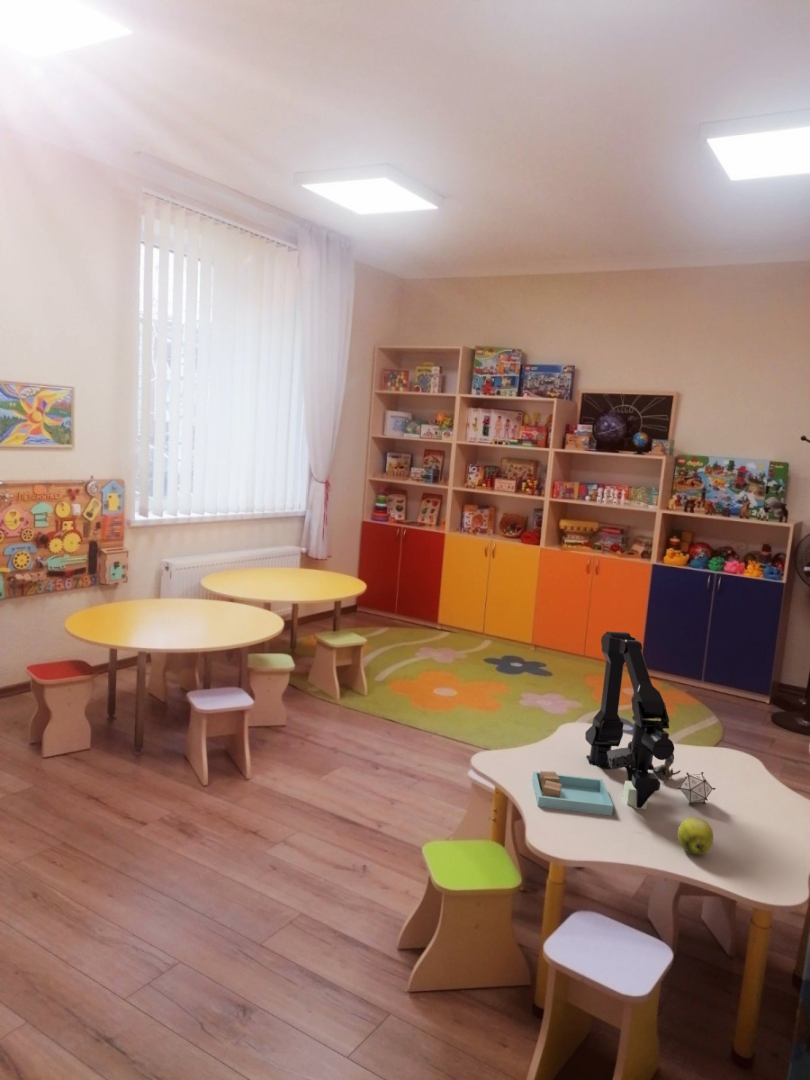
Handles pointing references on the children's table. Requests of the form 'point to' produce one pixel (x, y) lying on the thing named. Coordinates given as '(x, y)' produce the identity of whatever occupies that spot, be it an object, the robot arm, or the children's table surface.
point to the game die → (696, 788)
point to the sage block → (631, 795)
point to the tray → (576, 795)
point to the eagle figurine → (666, 768)
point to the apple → (695, 835)
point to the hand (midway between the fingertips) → (634, 798)
